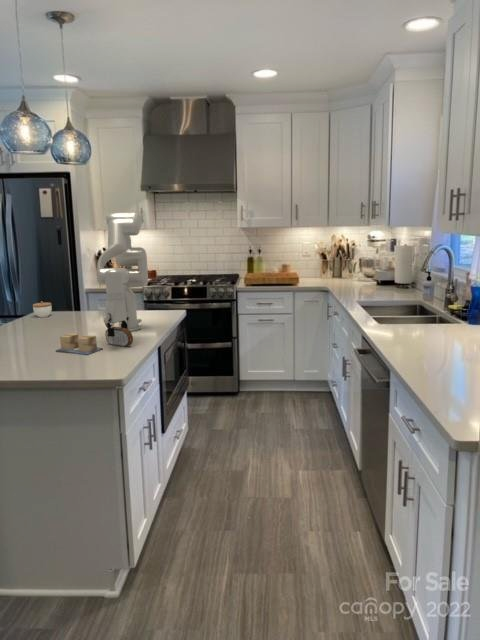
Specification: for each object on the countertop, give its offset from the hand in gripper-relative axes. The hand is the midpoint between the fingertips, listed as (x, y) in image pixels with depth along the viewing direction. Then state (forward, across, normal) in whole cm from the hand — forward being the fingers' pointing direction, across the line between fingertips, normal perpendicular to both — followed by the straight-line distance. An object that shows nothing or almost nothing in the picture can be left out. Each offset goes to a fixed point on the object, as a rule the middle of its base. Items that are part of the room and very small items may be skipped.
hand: (118, 334), depth 227 cm
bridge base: (+6, +12, -12) cm, 18 cm away
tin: (+6, -1, 0) cm, 6 cm away
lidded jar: (+4, -44, -89) cm, 100 cm away
